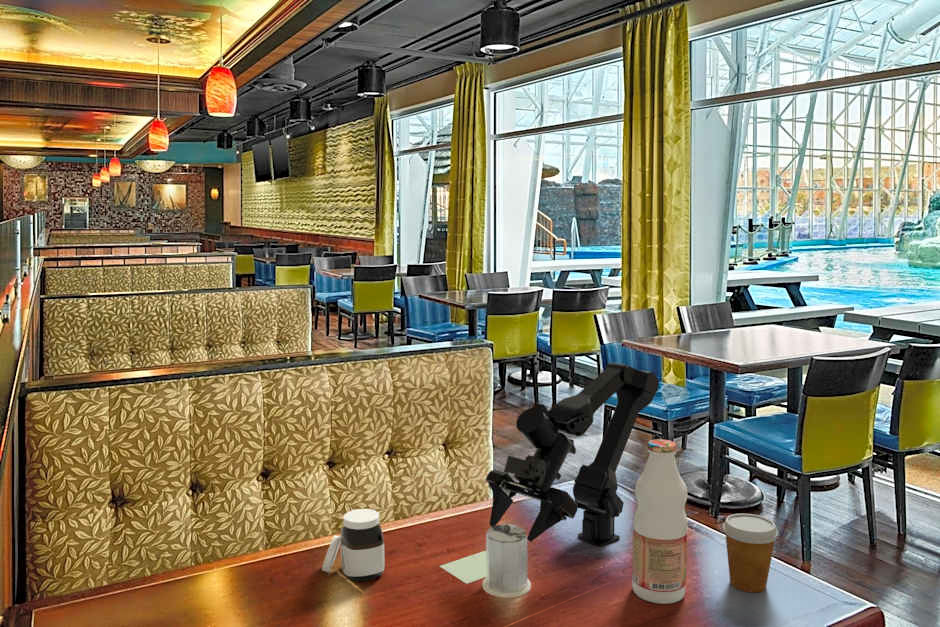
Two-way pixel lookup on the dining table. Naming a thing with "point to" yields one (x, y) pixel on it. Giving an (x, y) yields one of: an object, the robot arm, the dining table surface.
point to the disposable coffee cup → (749, 550)
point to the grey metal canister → (506, 558)
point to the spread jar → (358, 546)
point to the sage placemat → (468, 567)
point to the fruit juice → (660, 528)
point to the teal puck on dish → (506, 595)
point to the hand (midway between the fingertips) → (509, 533)
